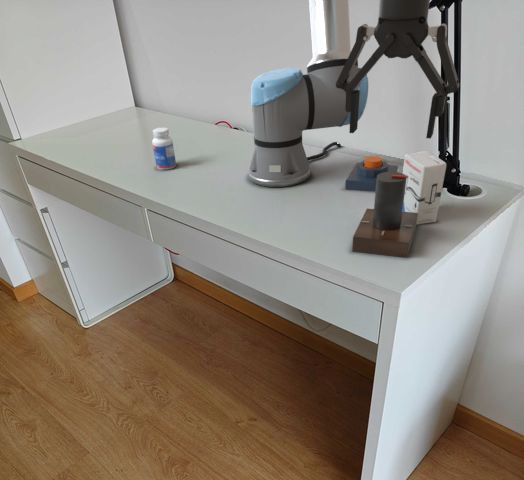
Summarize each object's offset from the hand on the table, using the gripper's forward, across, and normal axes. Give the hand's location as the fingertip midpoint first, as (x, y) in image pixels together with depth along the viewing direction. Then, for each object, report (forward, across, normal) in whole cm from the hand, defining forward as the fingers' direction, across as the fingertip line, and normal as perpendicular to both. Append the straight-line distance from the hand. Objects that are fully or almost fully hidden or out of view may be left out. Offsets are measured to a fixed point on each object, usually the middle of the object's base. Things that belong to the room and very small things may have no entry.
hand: (390, 133), depth 89 cm
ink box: (+18, -6, -7) cm, 20 cm away
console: (+18, -2, +6) cm, 19 cm away
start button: (+15, +7, -23) cm, 28 cm away
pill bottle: (+19, +63, -20) cm, 69 cm away
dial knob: (+15, -2, +5) cm, 16 cm away
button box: (+18, +7, -23) cm, 30 cm away
